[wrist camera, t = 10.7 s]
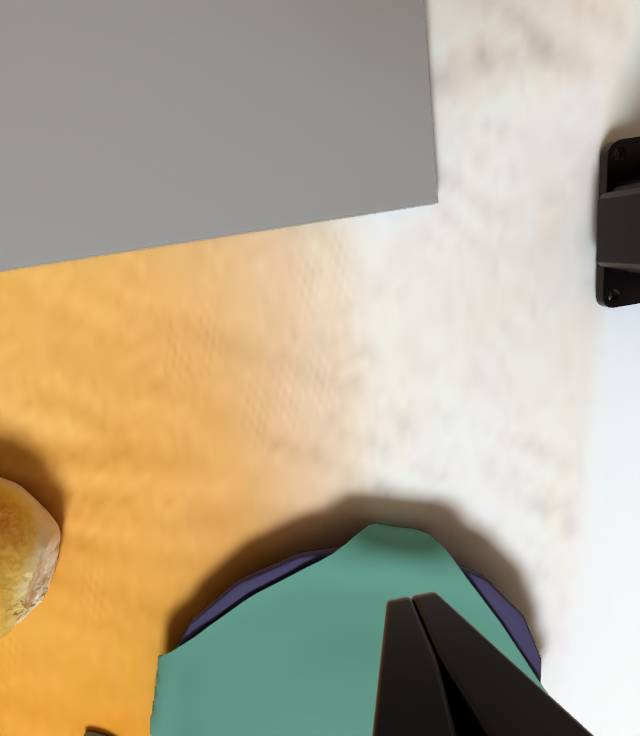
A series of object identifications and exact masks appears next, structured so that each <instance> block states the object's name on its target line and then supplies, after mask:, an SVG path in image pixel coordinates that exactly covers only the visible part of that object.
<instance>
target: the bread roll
mask: <svg viewBox="0 0 640 736" xmlns="http://www.w3.org/2000/svg"><path fill="white" fill-rule="evenodd" d="M60 534H61V532H60V529H59V526H58V524H57V523H56V521H55V520H54V518H53V517H52V516H51V515H50V513H49V512H48V511H47V510H46V509H45V508H44V507H43V506H42V505H41V504H40V503H39V502H38V501H37V500H36V499H35V498H34V497H33V496H32V495H31V494H30V493H29V492H27V491H26V490H25V489H24V488H23V487H22V486H20V485H18V484H17V483H15V482H13V481H10V480H7V479H4V478H2V477H0V638H2V637H4V636H5V635H6V634H7V633H9V632H10V631H11V630H12V629H13V628H14V626H15V625H16V624H18V623H19V622H21V621H22V620H23V619H24V618H25V617H26V616H27V615H28V614H29V613H30V611H32V610H33V609H34V608H35V607H36V606H37V605H38V604H39V603H40V602H42V600H43V598H44V596H45V593H46V592H47V589H48V587H49V584H50V581H51V578H52V576H53V573H54V571H55V568H56V564H57V557H58V553H59V544H60V541H61V540H60Z"/></svg>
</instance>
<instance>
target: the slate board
mask: <svg viewBox="0 0 640 736" xmlns="http://www.w3.org/2000/svg"><path fill="white" fill-rule="evenodd" d="M436 203H438V195H437V180H436V166H435V151H434V137H433V123H432V108H431V94H430V79H429V65H428V50H427V36H426V21H425V7H424V0H0V272H2V271H9V270H15V269H22V268H28V267H34V266H41V265H47V264H54V263H60V262H66V261H73V260H79V259H86V258H92V257H98V256H105V255H111V254H118V253H124V252H131V251H137V250H143V249H150V248H156V247H163V246H169V245H175V244H182V243H188V242H195V241H201V240H207V239H214V238H220V237H227V236H233V235H240V234H246V233H252V232H259V231H265V230H272V229H278V228H284V227H291V226H297V225H304V224H310V223H316V222H323V221H329V220H336V219H342V218H348V217H355V216H361V215H368V214H374V213H381V212H387V211H393V210H400V209H406V208H413V207H419V206H425V205H432V204H436Z"/></svg>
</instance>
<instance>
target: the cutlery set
mask: <svg viewBox="0 0 640 736" xmlns="http://www.w3.org/2000/svg"><path fill="white" fill-rule="evenodd" d="M426 592H436V593H437V594H439V595H440V596H441V597H442V598H443V599H444V600H445V601H446V602H447V603H448V604H450V605H451V606H452V607H453V608H454V609H455V610H456V611H457V612H458V613H459V614H460V615H462V616H463V617H464V618H465V619H466V620H467V621H468V622H469V623H470V624H471V625H473V626H474V627H475V628H476V629H477V630H478V631H479V632H480V633H481V634H482V635H484V636H485V637H486V638H487V639H488V640H489V641H490V642H491V643H492V644H493V645H495V646H496V647H497V648H498V649H499V650H500V651H501V652H502V653H503V654H504V655H506V656H507V657H508V658H509V659H510V660H511V661H512V662H513V663H514V664H515V665H516V666H518V667H519V668H520V669H521V670H522V671H523V672H524V673H525V674H526V675H527V676H529V677H530V678H531V679H532V680H533V681H534V682H535V683H536V684H537V685H538V686H540V687H541V688H542V689H543V690H544V691H545V692H546V690H545V689H544V688H543V686H542V685H541V657H540V655H539V652H538V650H537V648H536V645H535V643H534V640H533V638H532V635H531V633H530V631H529V628H528V626H527V623H526V621H525V618H524V616H523V615H522V614H521V613H520V612H519V611H518V610H517V609H516V608H515V607H514V606H513V605H512V604H511V603H510V602H509V601H508V600H507V599H506V598H505V597H504V596H503V595H502V594H501V593H500V592H499V591H498V590H497V589H496V588H495V587H494V586H493V585H492V584H491V583H490V582H489V581H488V580H487V579H486V578H485V577H484V576H483V575H481V574H479V573H476V572H474V571H472V570H470V569H468V568H465V567H463V566H461V565H459V564H457V563H456V562H455V561H454V559H453V558H452V557H451V556H450V554H449V553H448V552H447V551H446V549H445V548H444V547H443V546H442V544H440V543H439V542H438V541H437V540H436V539H434V538H433V537H432V536H431V535H430V534H428V533H425V532H422V531H420V530H417V529H411V528H402V527H396V526H389V525H382V524H378V523H374V524H371V525H368V526H367V527H365V528H364V529H363V530H362V531H360V532H359V533H358V534H357V535H356V536H354V537H353V538H352V539H351V540H350V541H349V542H347V543H346V544H345V545H344V546H342V547H336V548H329V549H322V550H315V551H308V552H301V553H298V554H295V555H293V556H291V557H289V558H286V559H284V560H282V561H279V562H277V563H275V564H273V565H270V566H268V567H266V568H263V569H261V570H259V571H257V572H254V573H252V574H250V575H247V576H245V577H243V578H241V579H239V580H237V581H236V582H235V583H234V584H233V585H232V586H230V587H229V588H228V589H227V590H226V591H224V592H223V593H222V594H221V595H220V596H219V597H217V598H216V599H215V600H214V601H213V602H211V603H210V604H209V605H208V606H207V607H206V608H204V609H203V610H202V611H201V612H200V613H198V614H197V615H196V616H195V617H194V618H193V619H192V620H191V622H190V624H189V626H188V627H187V629H186V631H185V632H184V634H183V636H182V638H181V639H180V641H179V643H178V644H177V646H176V648H175V650H173V651H172V652H170V653H168V654H165V655H162V656H158V670H157V678H156V686H155V695H154V701H153V709H152V714H151V716H150V734H151V736H372V733H373V724H374V715H375V706H376V696H377V687H378V678H379V669H380V660H381V650H382V641H383V632H384V623H385V613H386V605H387V602H388V600H390V599H395V598H400V597H405V596H408V597H410V598H411V599H412V597H413V596H414V595H416V594H421V593H426ZM546 693H547V692H546ZM547 694H548V693H547ZM84 736H105V735H102V734H99V733H95V732H86V733H85V734H84Z"/></svg>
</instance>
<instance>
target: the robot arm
mask: <svg viewBox="0 0 640 736" xmlns="http://www.w3.org/2000/svg"><path fill="white" fill-rule="evenodd" d="M615 150H617V151H618V154H619V156H618V159H617V160H616V159H615V158H614V151H615ZM611 291H613V296H612V298H611V299H610V300H609V298H608V296H609V293H610V292H611ZM596 299H597V302H598V303H599V304H600V305H601V306H604V307H611V308H614V307H620V306H626V305H632V304H638V303H640V137H634V138H627V139H621V140H617V141H614V142H611V143H609V144H607V145H606V146H605V147H604V148H603V150H602V152H601V156H600V183H599V201H598V226H597V284H596ZM372 736H593V735H592V734H591V733H590V732H589V731H588V730H587V729H586V728H585V727H583V726H582V725H581V724H580V723H579V722H578V721H577V720H576V719H575V718H574V717H572V716H571V715H570V714H569V713H568V712H567V711H566V710H565V709H564V708H563V707H561V706H560V705H559V704H558V703H557V702H556V701H555V700H554V699H553V698H552V697H551V696H549V695H548V694H547V693H546V692H545V691H544V690H543V689H542V688H541V687H540V686H538V685H537V684H536V683H535V682H534V681H533V680H532V679H531V678H530V677H529V676H527V675H526V674H525V673H524V672H523V671H522V670H521V669H520V668H519V667H518V666H516V665H515V664H514V663H513V662H512V661H511V660H510V659H509V658H508V657H507V656H506V655H504V654H503V653H502V652H501V651H500V650H499V649H498V648H497V647H496V646H495V645H493V644H492V643H491V642H490V641H489V640H488V639H487V638H486V637H485V636H484V635H482V634H481V633H480V632H479V631H478V630H477V629H476V628H475V627H474V626H473V625H471V624H470V623H469V622H468V621H467V620H466V619H465V618H464V617H463V616H462V615H460V614H459V613H458V612H457V611H456V610H455V609H454V608H453V607H452V606H451V605H450V604H448V603H447V602H446V601H445V600H444V599H443V598H442V597H441V596H440V595H439V594H437V593H436V592H426V593H421V594H416V595H414V596H413V597H412V599H411V598H410V597H408V596H405V597H400V598H395V599H390V600H388V602H387V605H386V613H385V623H384V632H383V641H382V650H381V660H380V669H379V678H378V687H377V696H376V706H375V715H374V724H373V733H372Z"/></svg>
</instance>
